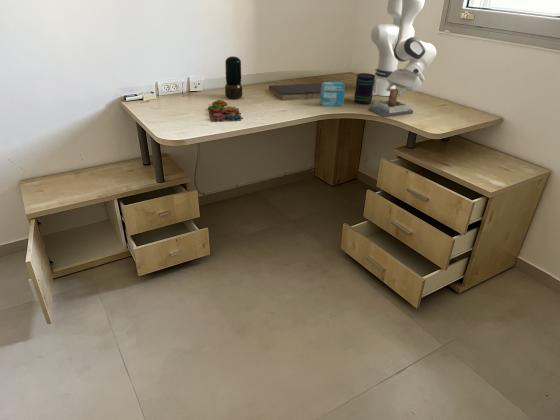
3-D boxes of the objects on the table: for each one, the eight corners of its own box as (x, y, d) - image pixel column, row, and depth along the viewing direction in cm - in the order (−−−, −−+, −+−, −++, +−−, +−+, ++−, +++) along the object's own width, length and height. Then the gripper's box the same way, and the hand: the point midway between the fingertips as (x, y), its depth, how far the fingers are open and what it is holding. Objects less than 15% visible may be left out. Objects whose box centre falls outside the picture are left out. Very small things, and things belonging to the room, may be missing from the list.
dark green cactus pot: (223, 95, 242) (222, 55, 232) (240, 94, 245) (239, 54, 234) (227, 100, 235) (226, 58, 224) (244, 99, 237) (243, 58, 226)
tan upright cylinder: (381, 107, 228) (384, 88, 223) (392, 106, 230) (395, 87, 225) (390, 111, 222) (393, 92, 217) (400, 110, 225) (404, 90, 220)
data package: (321, 106, 231) (323, 83, 225) (319, 104, 235) (321, 81, 229) (343, 106, 233) (345, 83, 227) (340, 103, 237) (343, 81, 231)
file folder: (281, 94, 236) (269, 84, 256) (281, 101, 238) (268, 91, 258) (336, 91, 246) (319, 82, 266) (335, 98, 248) (319, 88, 268)
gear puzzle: (205, 104, 228) (205, 96, 226) (235, 103, 232) (235, 96, 229) (210, 123, 202) (209, 114, 200) (244, 122, 205) (244, 113, 203)
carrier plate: (368, 109, 228) (370, 101, 226) (397, 106, 236) (398, 98, 233) (384, 117, 218) (385, 108, 216) (412, 113, 226) (414, 104, 223)
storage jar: (374, 102, 241) (378, 75, 234) (364, 105, 235) (368, 78, 227) (360, 98, 247) (363, 72, 239) (350, 101, 241) (353, 74, 233)
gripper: (395, 64, 227) (378, 84, 228) (422, 72, 211) (403, 93, 212) (400, 72, 231) (383, 91, 232) (427, 80, 215) (408, 101, 216)
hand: (393, 92), depth 222 cm, fingers open, 8 cm apart
